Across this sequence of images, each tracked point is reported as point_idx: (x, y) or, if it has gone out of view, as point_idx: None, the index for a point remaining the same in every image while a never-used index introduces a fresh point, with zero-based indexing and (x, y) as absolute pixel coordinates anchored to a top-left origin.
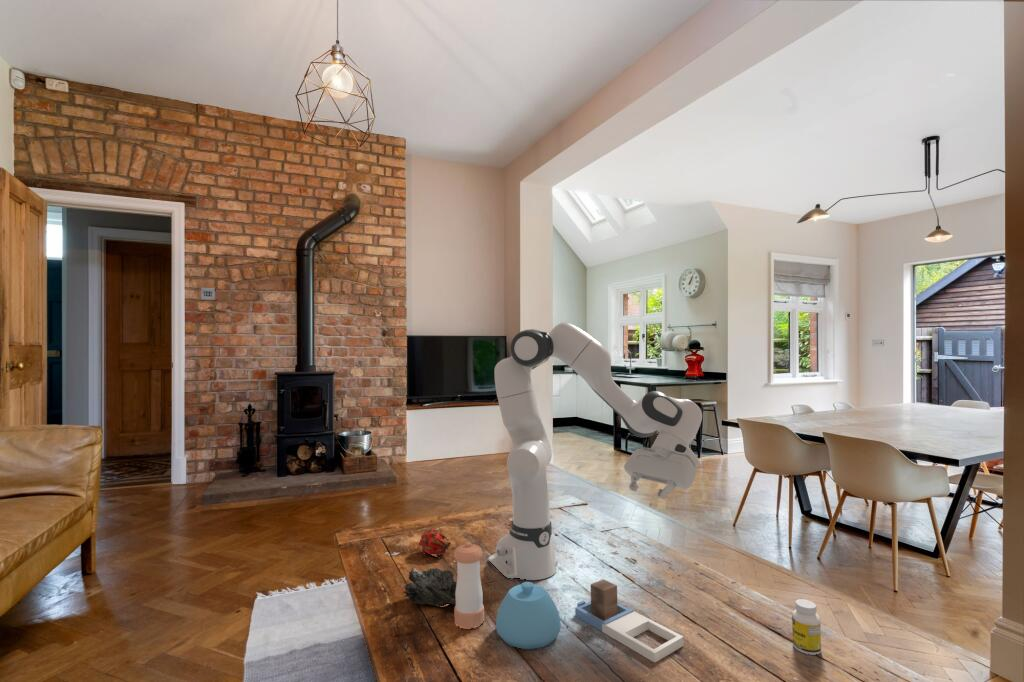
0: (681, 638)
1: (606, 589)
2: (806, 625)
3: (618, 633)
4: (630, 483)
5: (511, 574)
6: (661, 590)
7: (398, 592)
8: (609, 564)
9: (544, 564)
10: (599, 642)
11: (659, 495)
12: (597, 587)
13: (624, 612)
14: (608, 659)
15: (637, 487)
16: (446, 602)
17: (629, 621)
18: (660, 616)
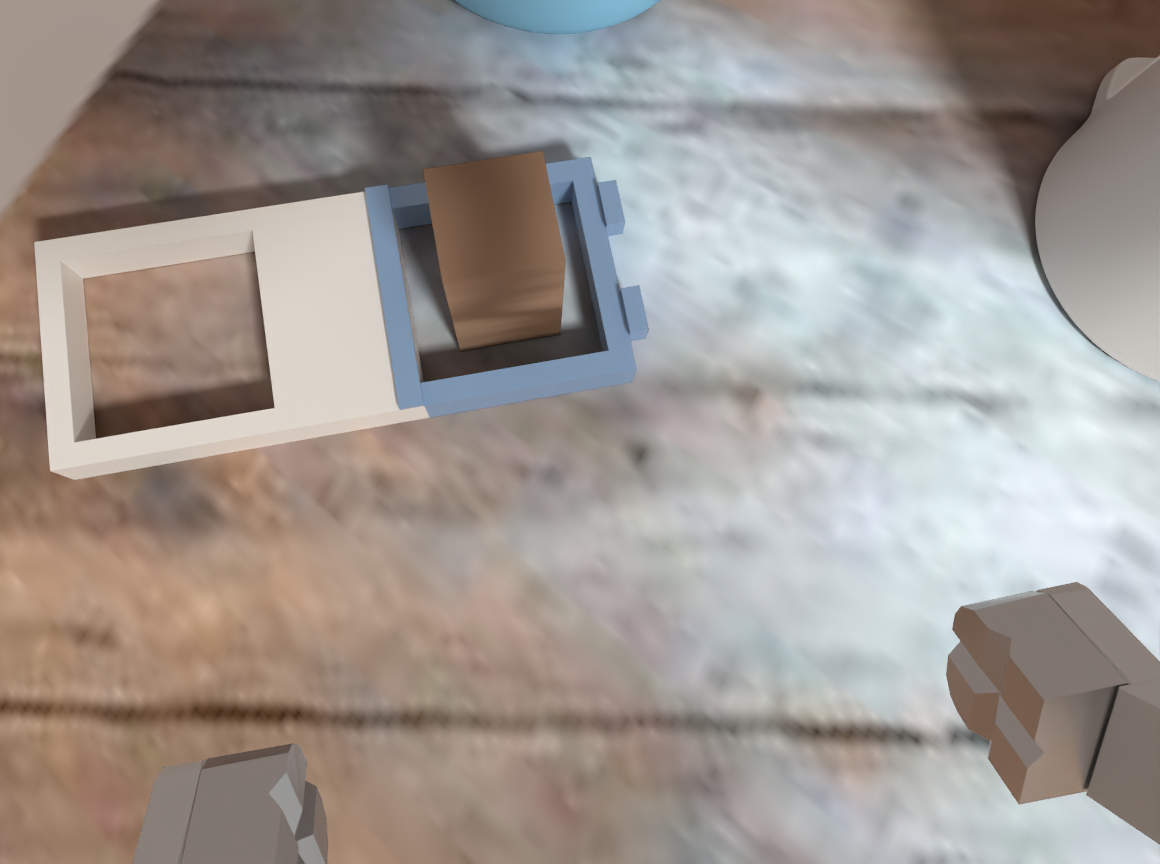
0: (50, 453)
1: (432, 193)
2: None
3: (273, 207)
4: (1129, 633)
5: (1128, 80)
6: (605, 817)
7: None
8: None
9: (1103, 219)
10: (327, 147)
11: (238, 756)
12: (484, 162)
13: (403, 343)
14: (198, 106)
15: (1000, 760)
16: None
17: (326, 319)
18: (357, 576)
